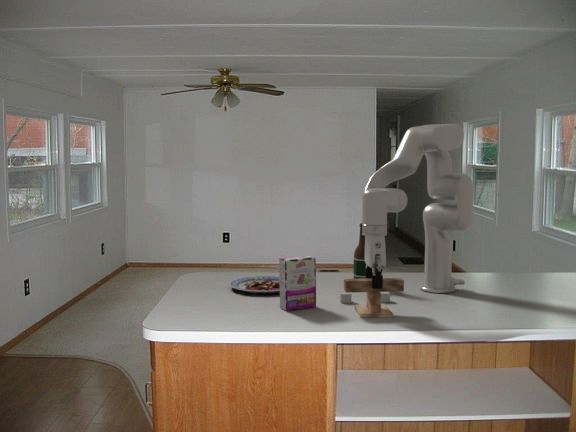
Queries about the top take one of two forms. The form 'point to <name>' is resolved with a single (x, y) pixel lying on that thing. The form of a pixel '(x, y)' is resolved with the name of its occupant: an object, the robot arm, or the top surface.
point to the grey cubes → (347, 297)
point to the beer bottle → (360, 258)
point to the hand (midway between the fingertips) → (373, 285)
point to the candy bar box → (297, 282)
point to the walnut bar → (366, 285)
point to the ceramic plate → (257, 284)
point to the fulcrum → (373, 307)
